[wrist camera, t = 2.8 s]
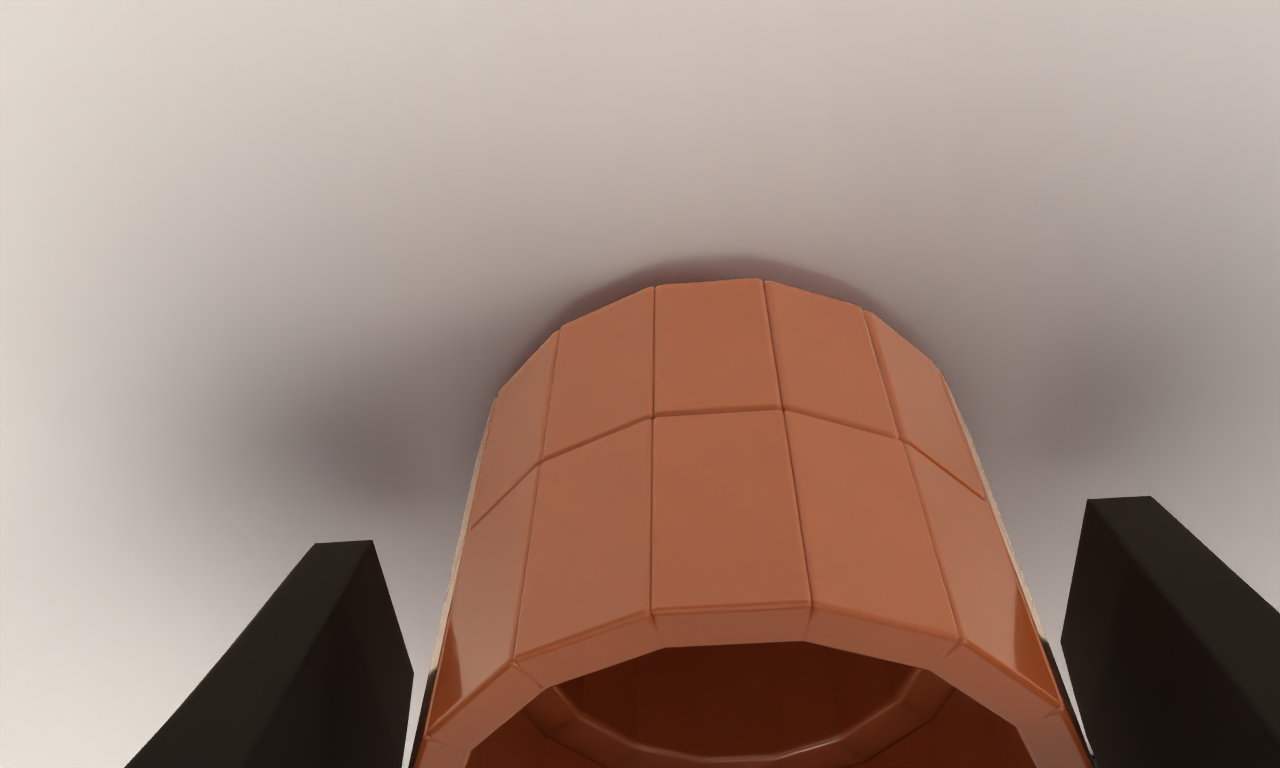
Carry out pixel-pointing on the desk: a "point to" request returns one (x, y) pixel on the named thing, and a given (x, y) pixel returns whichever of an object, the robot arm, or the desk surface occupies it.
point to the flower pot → (736, 556)
